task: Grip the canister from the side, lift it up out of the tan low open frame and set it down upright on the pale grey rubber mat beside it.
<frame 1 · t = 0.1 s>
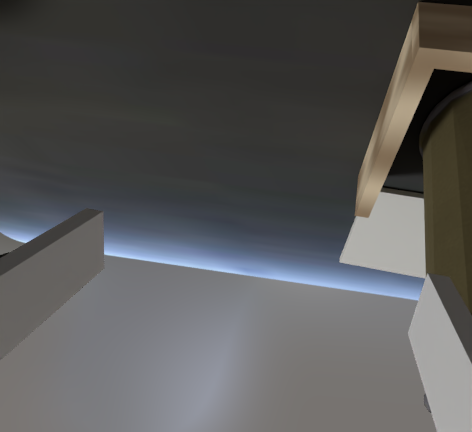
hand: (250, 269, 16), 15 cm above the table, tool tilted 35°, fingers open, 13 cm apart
mat: (428, 240, 37), on the table
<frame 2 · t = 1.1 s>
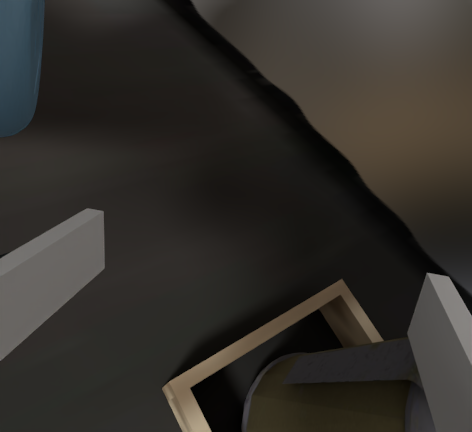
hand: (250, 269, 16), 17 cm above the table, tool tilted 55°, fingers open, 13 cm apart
tan low open frame: (300, 423, 30), on the table
canister: (302, 423, 30), on the table, touching gripper
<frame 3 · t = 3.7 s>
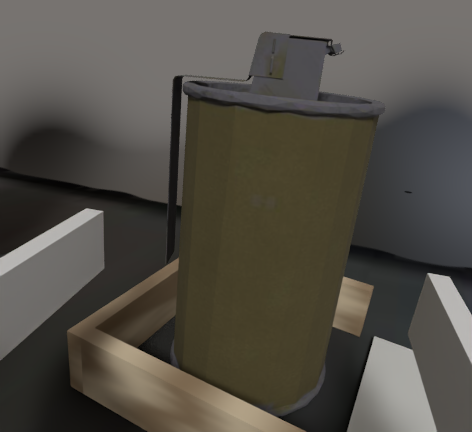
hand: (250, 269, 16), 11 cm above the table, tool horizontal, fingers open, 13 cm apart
tan low open frame: (244, 356, 27), on the table
canister: (244, 358, 27), on the table
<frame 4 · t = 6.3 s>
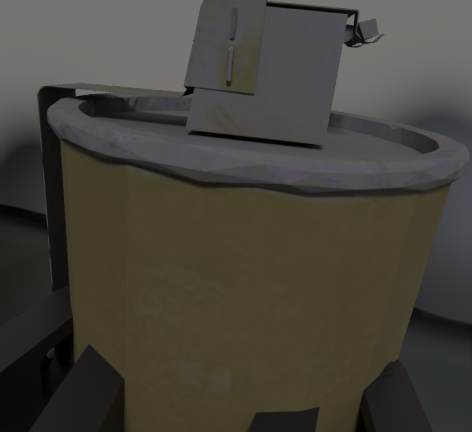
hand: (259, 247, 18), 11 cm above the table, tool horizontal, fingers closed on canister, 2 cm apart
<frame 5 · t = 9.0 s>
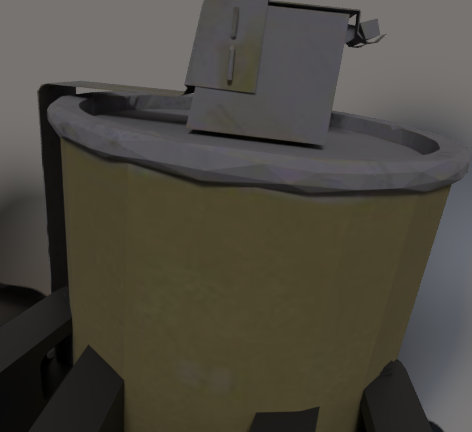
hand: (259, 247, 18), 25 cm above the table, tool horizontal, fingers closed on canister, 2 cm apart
when the fingers open (12 cm above the table, at t = 11.7 s): canister drops 1 cm, resting on mat.
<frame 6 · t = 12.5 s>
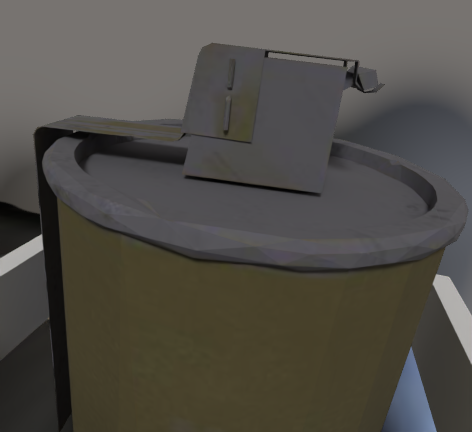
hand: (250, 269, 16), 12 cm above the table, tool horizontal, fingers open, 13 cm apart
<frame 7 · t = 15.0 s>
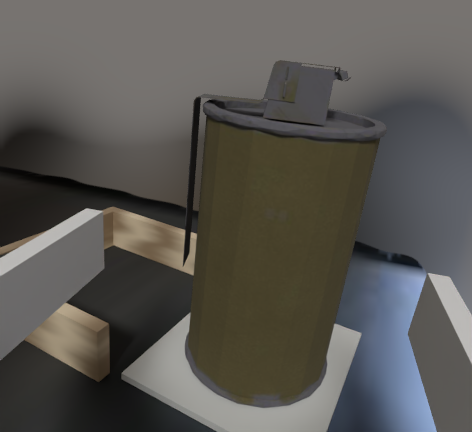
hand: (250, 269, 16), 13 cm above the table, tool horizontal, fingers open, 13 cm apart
mat: (254, 356, 29), on the table
tan low open frame: (112, 293, 35), on the table
canister: (252, 352, 29), resting on mat
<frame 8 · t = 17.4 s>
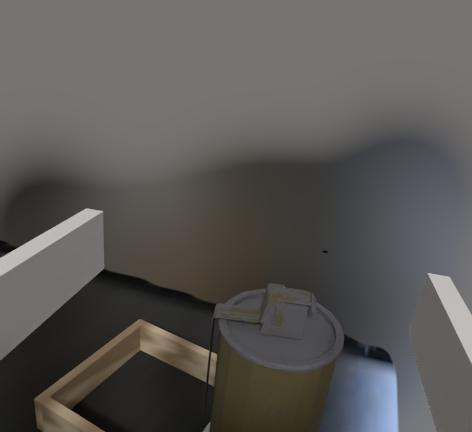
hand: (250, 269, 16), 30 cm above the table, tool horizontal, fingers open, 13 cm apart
tan low open frame: (144, 407, 45), on the table
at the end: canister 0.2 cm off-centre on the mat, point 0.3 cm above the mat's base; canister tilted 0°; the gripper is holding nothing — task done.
